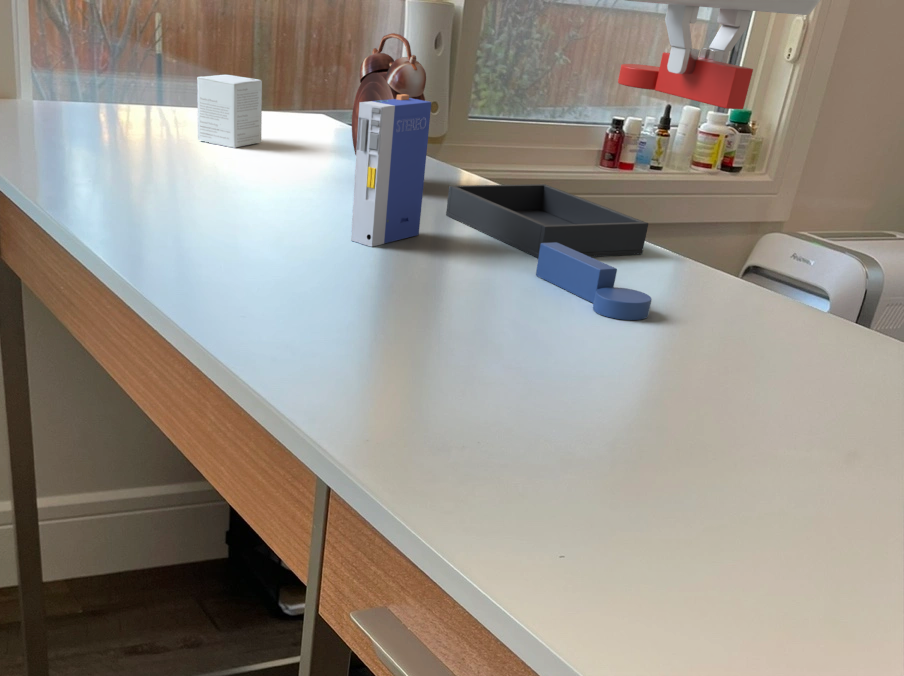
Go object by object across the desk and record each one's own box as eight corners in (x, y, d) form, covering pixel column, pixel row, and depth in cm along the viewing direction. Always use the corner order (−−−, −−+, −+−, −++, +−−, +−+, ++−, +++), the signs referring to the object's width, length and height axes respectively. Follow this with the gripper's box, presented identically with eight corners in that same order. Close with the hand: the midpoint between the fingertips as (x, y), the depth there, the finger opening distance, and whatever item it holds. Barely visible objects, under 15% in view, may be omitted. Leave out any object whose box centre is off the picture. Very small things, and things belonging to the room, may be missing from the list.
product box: (225, 136, 148) (225, 73, 144) (262, 143, 146) (263, 79, 142) (196, 141, 144) (195, 76, 140) (234, 148, 142) (235, 82, 137)
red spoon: (756, 109, 89) (767, 69, 87) (712, 108, 87) (722, 67, 85) (648, 83, 99) (656, 46, 97) (607, 81, 97) (614, 43, 95)
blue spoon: (522, 276, 100) (527, 243, 98) (564, 273, 102) (569, 241, 100) (614, 322, 90) (621, 286, 89) (659, 318, 92) (667, 283, 90)
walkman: (396, 229, 111) (407, 93, 104) (419, 235, 110) (432, 97, 103) (348, 240, 106) (356, 97, 99) (371, 246, 105) (381, 102, 98)
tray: (642, 254, 110) (648, 223, 109) (540, 259, 106) (545, 226, 104) (540, 212, 123) (545, 184, 122) (445, 215, 119) (449, 185, 117)
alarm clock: (425, 193, 127) (440, 40, 119) (388, 194, 125) (401, 38, 116) (379, 173, 135) (390, 29, 126) (344, 174, 133) (352, 27, 124)
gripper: (661, -156, 76) (617, 75, 84) (870, -124, 85) (812, 83, 93) (606, -157, 81) (569, 63, 89) (810, -126, 89) (759, 72, 97)
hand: (695, 74), depth 91 cm, fingers closed on red spoon, 2 cm apart
